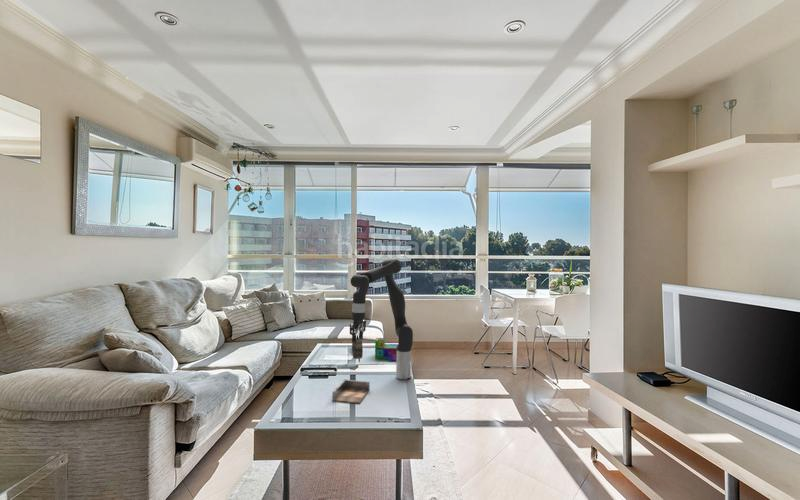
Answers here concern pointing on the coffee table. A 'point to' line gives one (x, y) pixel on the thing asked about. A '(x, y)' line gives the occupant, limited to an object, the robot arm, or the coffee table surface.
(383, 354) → the block puzzle
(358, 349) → the alarm clock
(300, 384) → the coffee table surface
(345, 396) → the walnut plate
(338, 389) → the corner walls
